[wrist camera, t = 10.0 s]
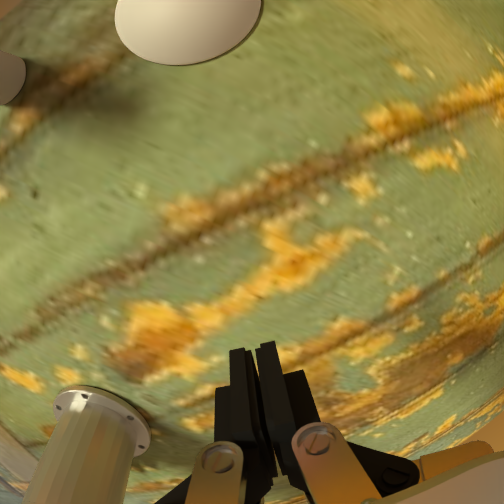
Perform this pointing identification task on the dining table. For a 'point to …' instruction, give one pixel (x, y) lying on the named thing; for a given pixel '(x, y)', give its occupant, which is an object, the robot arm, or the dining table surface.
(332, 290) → the dining table surface
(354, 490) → the robot arm
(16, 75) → the beverage can
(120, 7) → the disc
